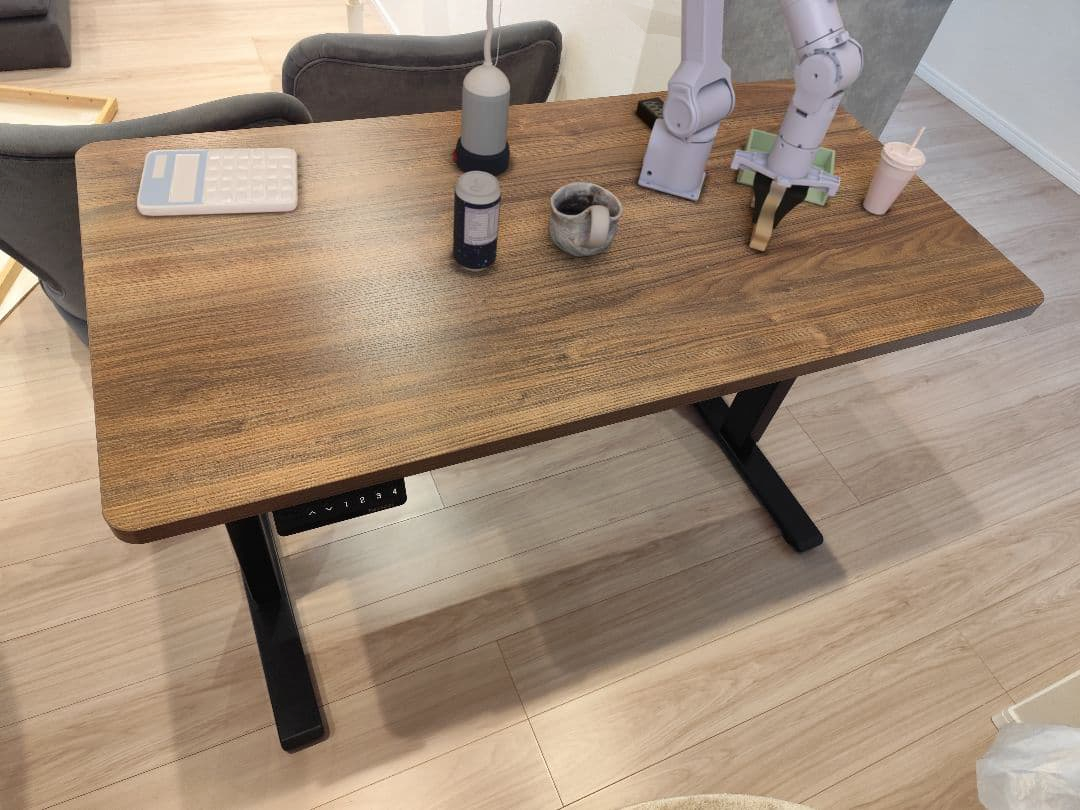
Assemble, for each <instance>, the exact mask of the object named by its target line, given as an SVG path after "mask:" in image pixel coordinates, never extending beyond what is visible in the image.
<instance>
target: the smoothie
mask: <svg viewBox="0 0 1080 810" xmlns="http://www.w3.org/2000/svg"><path fill="white" fill-rule="evenodd" d="M925 130H926V126H924V125H922V126H920V129H919V131H918V132H917V134H916V136H915V138H914V139H913V141H912V143H911V144H909V143H906V142H901V141H890V142H886V143H885V144H884V145H883V147H882V149H881V150H880V159H879V161H878V163H877V166H876V169H875V171H874V174H873V176H872V179H871V182H870V183H869V187H868V190H867V192H866V195H865V198H864V199H863V203H862V206H863V208H864V210H866V211H867V212H869V213H871V214H873V215H880V216H881V215H885V214H886V213H887V211H888V210H889V209H890V207H891V206H892V205H893V203H894V202H895V201H896V200H897V199H898V197H899V196H900V194H901V193H902V192H903V190H904V189H905V187H907V185H908V184H909V182H910V181H911V180H912V178H913V177H915V174H916V173H917V172H918V171H920V170H921V169H922V168H924V165H925V163H926V161H927V159H926V155H925V154H924V153H923V152H922V150H920V149H919V148H917V147H916V146H917V144H918V142H919V140H920V138H921V137H922V135H923V133H924V132H925Z"/></svg>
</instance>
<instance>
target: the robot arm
mask: <svg viewBox="0 0 1080 810" xmlns="http://www.w3.org/2000/svg"><path fill="white" fill-rule="evenodd" d="M780 7H781V10H782V14H783V17H784V20H785V23H786V26H787V29H788V32H789V35H790V38H791V41H792V44H793V47H794V50H795V54H796V56H797V58H798V61H799V63H797V64H795V66H794V69H793V82H794V86H795V87H794V89H795V90H794V92H793V94H792V96H791V99H790V102H789V104H788V107H787V110H786V112H785V114H784V117H783V120H782V122H781V125H780V127H779V129H778V132H777V134H776V135H777V137H776V139H775V142H774V144H773V147H772V149H771V152H769V153H761V152H749V151H744V150H742V149H738V148H736V149H735V152H734V154H733V157H732V160H731V162H730V163H731V164H730V167H729V168H730V169H731V170H736V171H739V169H740V168H741V169H744V170H748V171H752V172H755V177H754V181H753V186H752V189H753V194H754V197H755V208H753V214H752V218H751V223H752V224H754V223H755V224H756V222H757V220H758V218H759V216H760V212H761V209H762V206H763V204H764V202H765V200H766V198H767V196H768V194H769V192H770V188H771V184H772V180H773V179H774V180H776V184H778V185H780V186H784V187H786V190H785V193H784V195H783V198H782V200H781V202H780V204H779V206H778V208H777V209H776V212H775V217H774V223H773V227H772V230H775V229H776V228H777V227H778V226H779V224H780V223H781V222H782V220H784V218H785V217H786V216H787V215H788V214H789V213H790V212H791V211H792V210H793V209H794V208H796V207H797V206H799V205H800V204H801V203H803V202H805V201H804V200H805V198H806V197H807V193H808V189H809V187H810V188H813V189H817V190H821V191H824V192H826V194H827V195H828V197H829V196H830V197H835V195H836V194H837V192H838V190H839V188H840V186H841V177H840V176H837V175H834V174H833V175H832V174H829V173H827V172H825V171H823V170H821V169H818V168H816V167H814V166H812V163H813V161H814V159H815V157H816V154H817V152H818V150H819V148H820V147H822V144H823V141H824V139H825V137H826V135H827V133H828V130H829V128H830V126H831V124H832V122H833V120H834V118H835V115H836V113H837V109H838V107H839V105H840V103H841V101H842V99H843V97H844V94H845V90H844V89H846V88H848V87H849V86H851V85H852V84H853V83H854V82H855V81H857V80H858V78H859V77H860V75H861V74H862V71H863V68H864V55H863V52H864V51H863V50H864V49H863V47H862V45H861V44H860V43H859V42H858V41H857V40H856V39H854V38H852V37H851V35H850V33H849V31H848V30H846V29H845V26H844V23H843V20H842V17H841V16H842V15H841V13H840V9H839V6H838V3H837V0H780ZM724 11H725V0H681V25H680V26H681V27H680V28H681V30H680V31H681V33H680V36H681V37H680V62H679V64H678V66H677V68H676V69H675V71H674V72H673V74H672V75H671V77H670V78H669V80H668V81H667V94H666V97H665V100H664V101H663V102H664V105H663V110H662V114H663V119H656V121H655V124H654V127H653V130H652V129H651V133H650V137H649V140H648V144H647V147H646V151H645V153H644V155H643V158H642V161H641V165H642V167H641V171H640V174H639V175H640V176H639V179H638V181H637V184H638V185H639V186H641V187H645V188H649V189H651V190H655V191H659V192H662V193H667V194H670V195H673V196H676V197H681V198H684V199H688V200H692V201H695V202H696V201H699V198H700V195H701V191H702V189H703V185H704V182H705V178H706V175H707V173H706V167H707V164H708V162H709V159H710V155H711V152H712V149H713V146H714V143H715V140H716V137H717V134H718V131H719V130H718V129H719V128H720V125H721V122H722V121H723V120H725V119H727V118H728V117H730V116H731V114H732V112H733V111H734V109H735V105H736V93H735V89H734V87H733V84H732V77H731V76H732V75H731V74H732V69H731V67H730V66H729V65H728V64H727V63H726V61H724V60H723V58H722V57H723V35H724V34H723V33H724V14H725V13H724Z"/></svg>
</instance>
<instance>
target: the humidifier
mask: <svg viewBox="0 0 1080 810" xmlns="http://www.w3.org/2000/svg"><path fill="white" fill-rule="evenodd" d="M493 11H494V0H486V17H485V18H486V19H485V20H486V32H485V35H484V41H483V57H484V61H483V63H482V64H481V65H478V66H476V67H473V68H472V69H470V71H469V72H468V73H467V74H466V75H465V77H464V79H463V82H462V83H463V85H462V91H461V119H460V120H461V121H460V122H461V123H460V136H459V137H458V138H457V141H456V146H455V148H454V151H453V155H452V156H453V160H454V162H455V164H456V166H457V167H458V168H459V170H461V171H462V172H464V173H467V172H471V171H482V172H486V173H489V174H491V175H493V176H494V177H498V176H501V175H503V173H505V172H506V171H507V170H508V169H509V165H510V156H511V149H510V144H509V141H508V140H507V137H508V126H509V125H508V124H509V113H510V101H511V100H510V99H511V84H510V82H509V79H508V77H507V75H506V74H505V73H504V72H503V71H502V70H500V69H499V68H498V67H496V66H497V63H498V58H499V49H497V51H496V61H495V64H494V65H493V62H492V54H491V53H492V52H491V46H492V45H491V43H492V39H493V35H494V31H495V30H494V29H495V28H494V27H495V25H494V18H493V16H494V15H493V13H494V12H493ZM501 11H502V2H500V5H499V15H498V26H499V35H498V39H497V40H498V41H497V48H499V45H500V39H501V38H500V37H501V33H502V28H501V23H500V19H501V13H502V12H501Z"/></svg>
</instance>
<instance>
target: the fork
mask: <svg viewBox="0 0 1080 810" xmlns="http://www.w3.org/2000/svg"><path fill="white" fill-rule="evenodd" d="M785 190H786V187H784V186H780V185H778V184H776V180H773V181H772V184H771V188H770V192H769V194H768V196H767V198H766V200H765V202H764V204H763V206H762V209H761V212H760V216H759V218H758V220H757V222H756V224H755V223H753V227H752V228H753V229H752V232H751V238H750V240H749V245H748V247H749V248H751V249H755V250H758V251H761V252H765V250H766V248H767V246H768V244H769V241H770V239H771V237H772V233H773V229H772V227H773V223H774V217H775V212H776V209H777V208H778V206H779V204H780V202H781V200H782V198H783V195H784V193H785ZM750 208H753V209H754V208H755V197H754V193H753V195H752V199H751V203H750Z"/></svg>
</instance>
